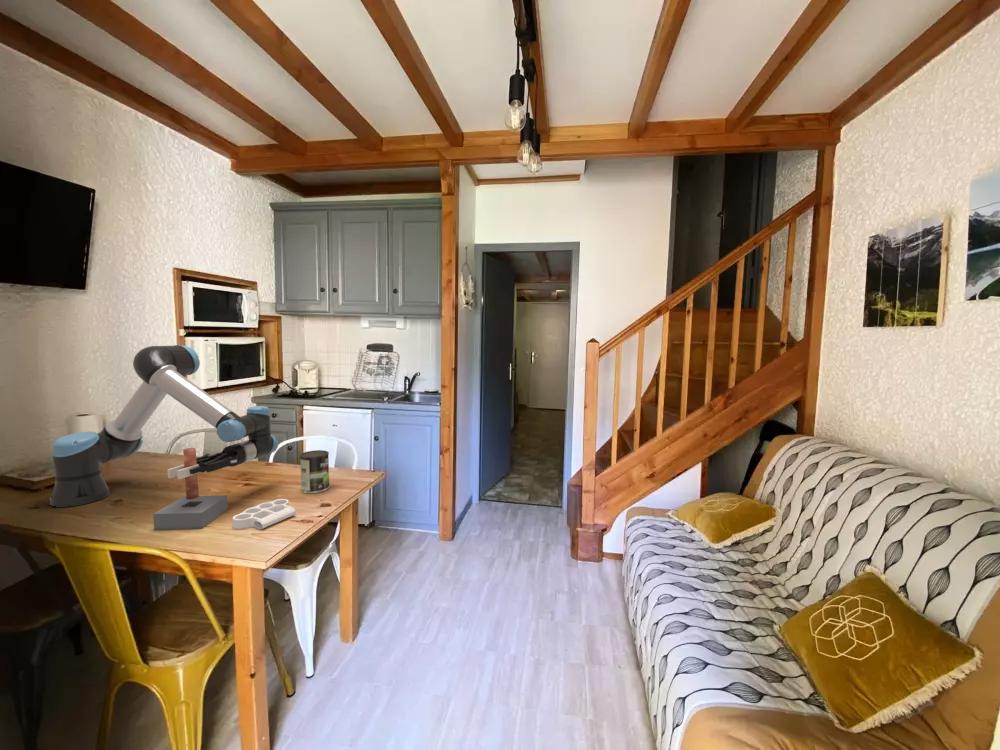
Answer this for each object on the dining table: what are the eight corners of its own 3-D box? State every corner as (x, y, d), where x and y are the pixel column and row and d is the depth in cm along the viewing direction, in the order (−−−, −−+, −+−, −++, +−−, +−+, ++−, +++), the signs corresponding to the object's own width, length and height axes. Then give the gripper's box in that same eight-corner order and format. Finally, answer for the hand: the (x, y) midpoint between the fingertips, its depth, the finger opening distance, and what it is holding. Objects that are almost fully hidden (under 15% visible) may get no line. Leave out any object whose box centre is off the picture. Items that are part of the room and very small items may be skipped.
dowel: (184, 499, 132) (180, 450, 131) (190, 495, 136) (187, 447, 134) (194, 499, 133) (191, 450, 131) (200, 495, 136) (197, 447, 134)
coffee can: (333, 484, 167) (333, 450, 166) (322, 493, 157) (321, 457, 156) (308, 483, 168) (307, 449, 166) (295, 493, 157) (294, 457, 156)
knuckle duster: (252, 536, 125) (223, 525, 131) (304, 513, 141) (276, 505, 147) (252, 525, 124) (223, 515, 131) (304, 503, 140) (275, 496, 147)
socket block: (154, 529, 127) (153, 514, 127) (184, 510, 141) (183, 496, 141) (202, 528, 128) (201, 512, 128) (227, 509, 142) (227, 495, 142)
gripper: (257, 465, 149) (194, 488, 126) (221, 462, 153) (154, 483, 130) (256, 445, 148) (193, 464, 126) (220, 442, 152) (152, 460, 130)
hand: (173, 474), depth 128 cm, fingers closed on dowel, 3 cm apart
